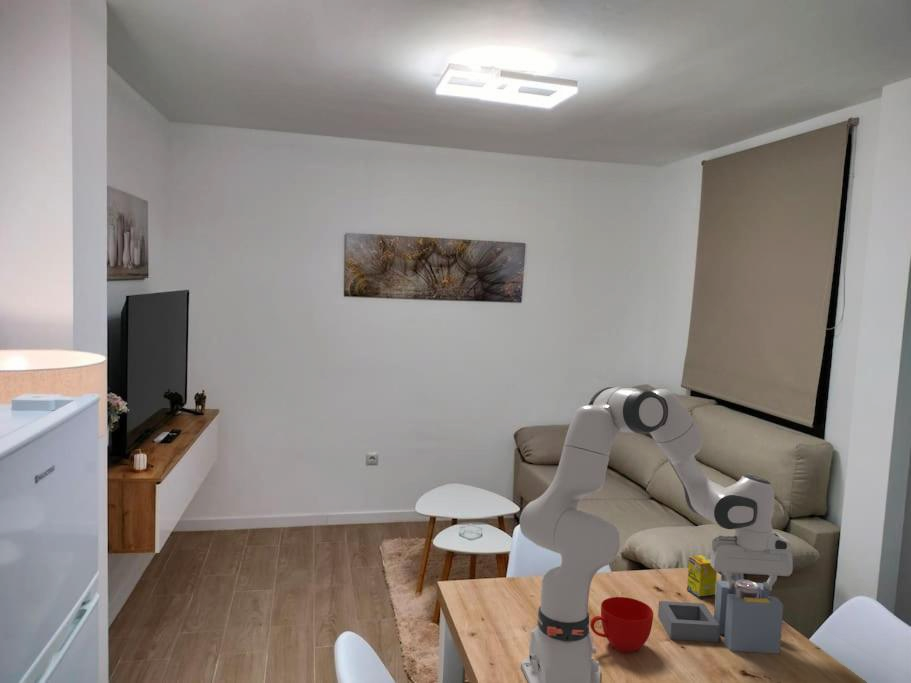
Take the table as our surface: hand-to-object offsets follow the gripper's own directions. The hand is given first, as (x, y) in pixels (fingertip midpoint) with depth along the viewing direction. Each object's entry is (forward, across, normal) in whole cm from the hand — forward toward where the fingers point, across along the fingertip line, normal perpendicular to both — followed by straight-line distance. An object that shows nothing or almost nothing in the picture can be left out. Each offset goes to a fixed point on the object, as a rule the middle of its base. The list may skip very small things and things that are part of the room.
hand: (748, 588), depth 175 cm
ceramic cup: (+14, -35, -8) cm, 38 cm away
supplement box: (+14, -3, +27) cm, 31 cm away
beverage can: (+14, 0, 0) cm, 14 cm away
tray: (+14, -14, +4) cm, 20 cm away
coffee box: (+14, +3, +18) cm, 23 cm away
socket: (+14, 0, 0) cm, 14 cm away
